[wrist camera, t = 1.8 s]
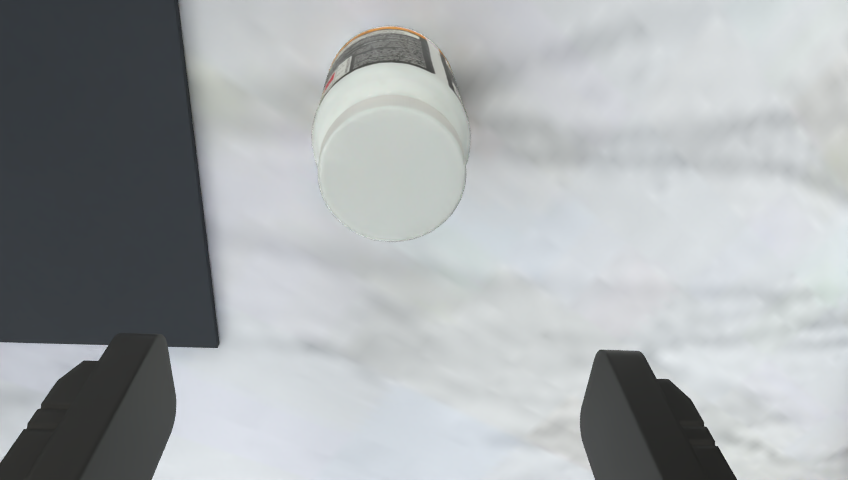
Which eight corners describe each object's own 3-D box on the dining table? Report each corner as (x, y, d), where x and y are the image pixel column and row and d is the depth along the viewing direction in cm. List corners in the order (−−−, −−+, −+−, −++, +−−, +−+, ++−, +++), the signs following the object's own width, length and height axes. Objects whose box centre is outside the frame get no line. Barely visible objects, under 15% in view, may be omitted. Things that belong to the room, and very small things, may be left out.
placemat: (-201, -74, 24) (-210, -74, 23) (172, -48, 25) (169, -47, 24) (-43, 336, 34) (-48, 341, 33) (219, 343, 35) (217, 348, 34)
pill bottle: (306, 111, 28) (268, 210, 20) (365, -5, 26) (351, 51, 17) (414, 168, 30) (422, 283, 21) (479, 64, 28) (518, 146, 19)
